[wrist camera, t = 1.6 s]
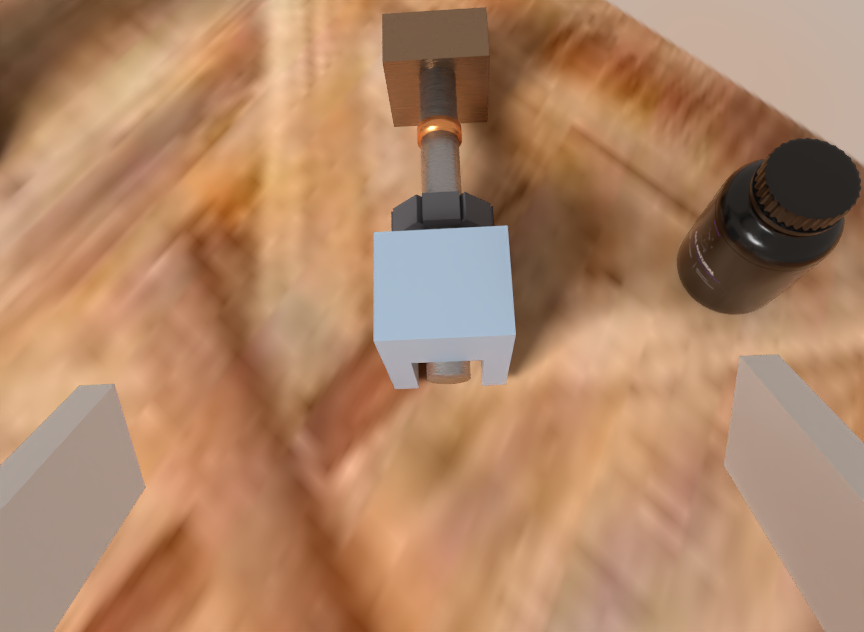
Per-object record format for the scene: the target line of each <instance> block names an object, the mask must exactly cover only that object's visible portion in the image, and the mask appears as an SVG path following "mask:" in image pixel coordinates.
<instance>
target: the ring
mask: <svg viewBox="0 0 864 632" xmlns="http://www.w3.org/2000/svg"><path fill="white" fill-rule="evenodd" d="M391 214H392V231H409V230H425V229H427V228H444V227H459V228H468V227H488V226H494V219H493V206H491V205H490V203H488V202H486V201H484V200H481V199H479V198H477V197H475V196H473V195H470V194H468V193H466V192H464V193H462V194H461V195H459V191H450V192H432V193H422V197H421V196H418V195H415V196H413V197H412V198H410V199H408V200H407V201H405V202H403V203H402V204H400V205H398V206H397V207H395V208H394V209H393V212H391Z"/></svg>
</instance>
